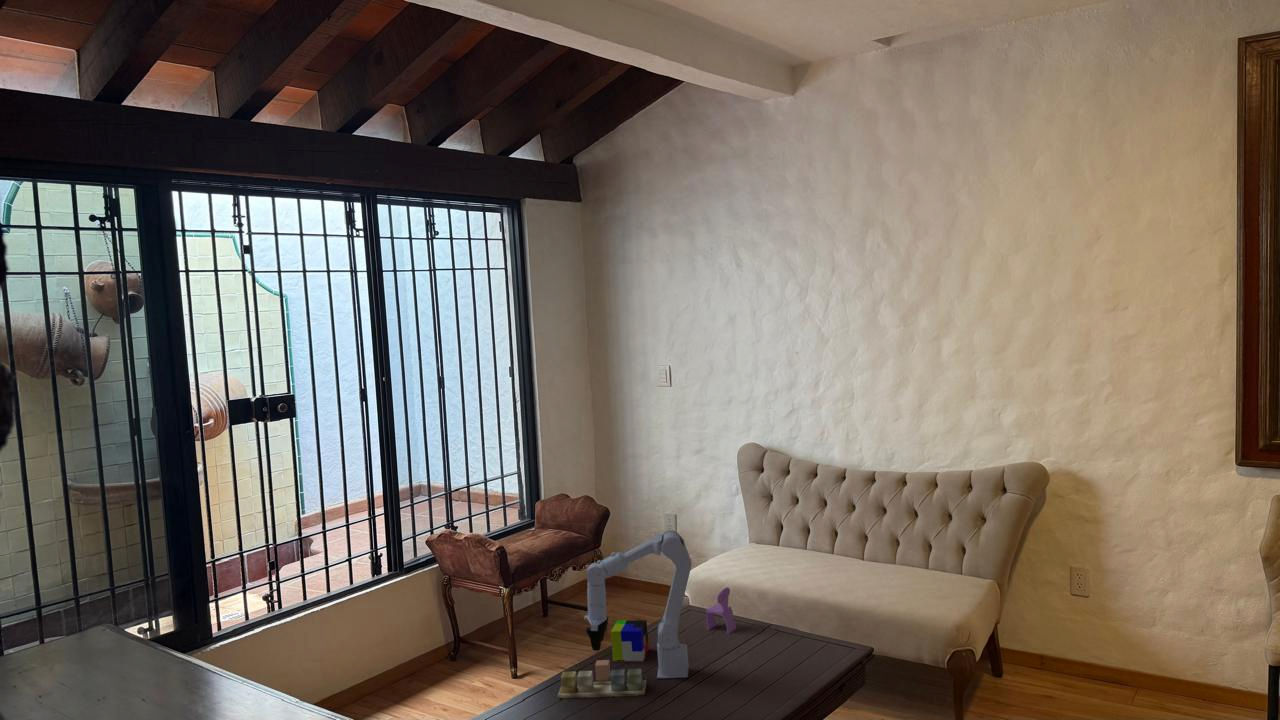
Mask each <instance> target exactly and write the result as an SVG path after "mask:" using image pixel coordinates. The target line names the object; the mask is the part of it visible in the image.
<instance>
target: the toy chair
mask: <svg viewBox="0 0 1280 720" xmlns="http://www.w3.org/2000/svg"><path fill="white" fill-rule="evenodd" d="M730 594H731V589H730V588H729V587H728V586H726V587H725V588H723V589H721V590H720V592H719V593H718V594H717V597H716V601H717V604H714V605H712V606H711V607H709V608H707V609H706V612H705V617H706V624H707V625H706V628H707V629H706V630H707V631H710V630H711V629H713V628H714V627H716V626H718V622H717V621H716V619H715V615H720V616H722V618H723V619H724V622H725V625H726V633H727V635H729V634H730V633H732V632H733V631H735V630H736V629H737V628H738V627H737V626H736V623H735V621H734V614H733V613H734V612H733V609H732V606H730V605H729V596H730Z"/></svg>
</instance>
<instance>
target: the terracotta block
mask: <svg viewBox="0 0 1280 720" xmlns="http://www.w3.org/2000/svg"><path fill="white" fill-rule="evenodd" d="M610 663H611V662H610V659H602V660H598V659H597V660H596V662H595V663H594V664H595V665H594V669H595V670H594V671H595V682H608V681H610V680H611V678H610V675H611V664H610Z"/></svg>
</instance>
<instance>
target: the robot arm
mask: <svg viewBox="0 0 1280 720" xmlns="http://www.w3.org/2000/svg"><path fill="white" fill-rule="evenodd" d="M650 554H653V555H657V556H661V554H663V555H664V556H665V557H666V558H667V559H670V560H671V562H672V563H673V564H674V566H675V569H674V572H673V576H672V582H671V586H670V589H669V594H668V598H667V603H666V605H665V606H666V607H665V610H664V613H663V617H662V619H661V621H660V622H659V624H658V625H657V643H656V649H657V663H658V669H657V675H656V676H657V677H656V679H658V678H659V679H677V678H678V679H680V678H681V679H682V678H688V677H689V670H690V663H689V657H688V646H687V644H684V643H681V642H680V641H679V637H678V628H679V621H680V617H681V616H680V615H681V612H682V608H683V603H684V599H685V594H686V590H687V586H688V582H689V581H688V580H689V578H690V573H691V568H692V559H691V556H690V554H689V551H688V548H687V545H686V542H685V539H683V537H682V535H680V533H678V531H675V530H673V529H672V530H666V531H665V532H663V533H660V534H659V533H658V534H657V535H655V536H654V537H651V538H649V539H648V540H646V541H644V542H642V543H640V544H639V545H637V546H635V547H634V548H632V549H630V550H628V551H626V552H624V553H623V552H621V551H620V552H619V551H618V552H615V551H613V552H611V553H610V556H608V557H606V558H604V559H599V560H597V561H596V562H593V563H591V564H589V566H588V568H587V571H586V581H587V583H586V584H587V588H586V590H587V591H586V593H587V615H584V618H583V619H584V620H587V621H588V623H589V625H590V627H589V626H588V627H586V628H585V632H586V634H587V636H588V638H589V640H590V644H591V649H592V651H600V650H601V645H602V642H603V641H604V637H605V630H606V626H607V622H609V616H608V615H607V594H606V593H607V591H606V586H605V585H606V581H605V580H606V579H609V578H611V577H613V576H615V575H617V574H619V573H621V572H623V571H626V570H627V569H628V567H629V564H630V563H633V562H635V561H637V560H639V559H641V558H644V557H646V556H648V555H650Z"/></svg>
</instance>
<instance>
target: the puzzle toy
mask: <svg viewBox="0 0 1280 720" xmlns="http://www.w3.org/2000/svg"><path fill="white" fill-rule="evenodd" d="M610 638H611V639H610V640H611V641H610V642H611V652H612V662H618V661H617V660H621V661H620V662H644V660H645V658H646V656H647V654H648V652H647V651H649V650H648V649H649V647H650V646H649V635H648V623H647V620H645V619H644V620H643V619H642V620H640V619H639V620H636V619H635V620H633V619H632V620H629V619H628V620H627V619H626V620H622V619H621V620H619V619H618V620H617V621H616V622H615V624H614V626H613V627H612V628H611V630H610ZM646 653H647V654H646ZM645 655H646V656H645ZM622 660H624V661H622ZM625 660H626V661H625Z"/></svg>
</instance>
